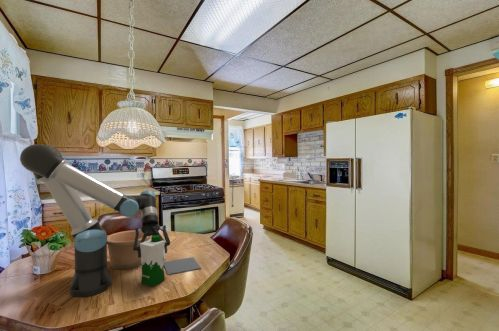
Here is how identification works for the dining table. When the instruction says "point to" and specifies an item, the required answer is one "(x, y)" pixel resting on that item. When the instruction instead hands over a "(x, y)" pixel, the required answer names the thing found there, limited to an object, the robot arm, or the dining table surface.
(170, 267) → the mat
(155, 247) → the soya milk
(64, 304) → the dining table surface
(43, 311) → the dining table surface
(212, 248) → the dining table surface
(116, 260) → the pottery
